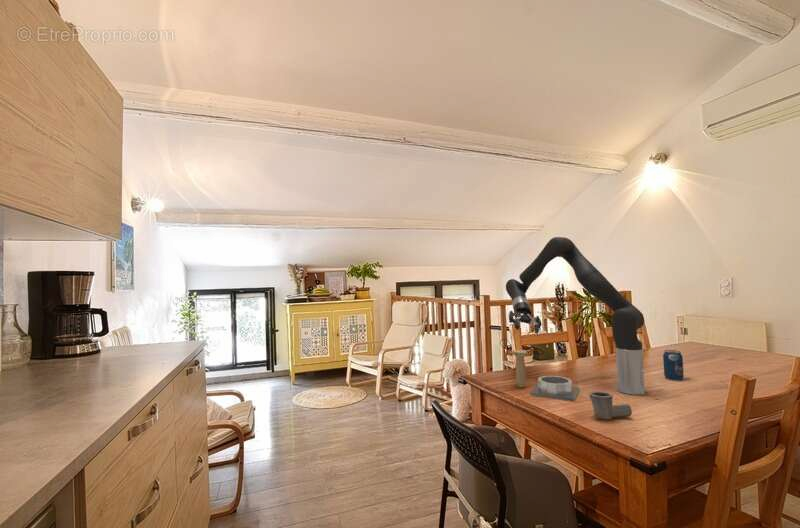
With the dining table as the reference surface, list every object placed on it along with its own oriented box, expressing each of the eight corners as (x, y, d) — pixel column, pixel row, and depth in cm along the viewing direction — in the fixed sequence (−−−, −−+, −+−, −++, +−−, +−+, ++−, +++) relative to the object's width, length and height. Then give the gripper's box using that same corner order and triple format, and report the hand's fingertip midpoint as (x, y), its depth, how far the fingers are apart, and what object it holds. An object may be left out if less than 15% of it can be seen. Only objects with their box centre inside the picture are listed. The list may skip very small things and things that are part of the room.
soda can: (681, 381, 160) (679, 353, 161) (662, 378, 166) (660, 351, 166) (685, 378, 165) (684, 351, 165) (667, 375, 170) (665, 349, 170)
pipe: (635, 421, 121) (633, 395, 121) (595, 421, 121) (593, 396, 121) (624, 414, 127) (622, 390, 127) (586, 414, 127) (584, 391, 128)
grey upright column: (518, 383, 165) (516, 349, 165) (531, 387, 160) (529, 351, 160) (511, 386, 162) (509, 351, 162) (524, 389, 157) (523, 353, 157)
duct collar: (579, 389, 154) (578, 377, 154) (574, 401, 141) (573, 387, 141) (538, 384, 163) (538, 373, 163) (530, 395, 149) (529, 382, 149)
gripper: (509, 298, 178) (514, 320, 164) (538, 304, 178) (546, 327, 164) (504, 310, 182) (509, 333, 168) (533, 316, 182) (540, 339, 168)
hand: (527, 330), depth 166 cm, fingers open, 8 cm apart
